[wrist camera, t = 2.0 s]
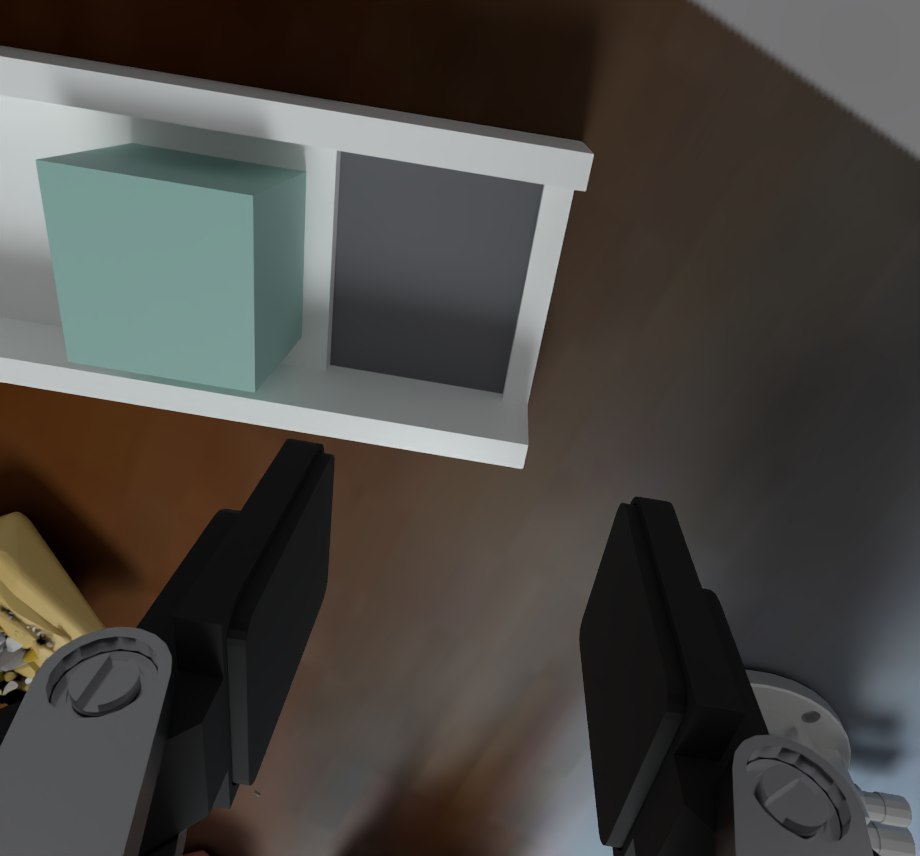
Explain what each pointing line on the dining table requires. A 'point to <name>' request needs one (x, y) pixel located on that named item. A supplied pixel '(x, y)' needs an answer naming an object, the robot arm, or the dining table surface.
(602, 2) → the dining table surface
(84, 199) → the green block
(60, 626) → the figurine with sign
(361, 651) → the dining table surface
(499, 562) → the dining table surface
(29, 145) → the trough
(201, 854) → the pink cube
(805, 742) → the robot arm
